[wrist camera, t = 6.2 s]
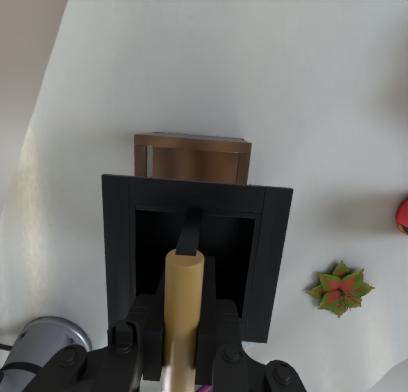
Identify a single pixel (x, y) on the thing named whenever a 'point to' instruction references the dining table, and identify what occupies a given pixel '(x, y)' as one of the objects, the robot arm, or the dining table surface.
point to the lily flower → (340, 290)
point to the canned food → (403, 217)
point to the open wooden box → (193, 157)
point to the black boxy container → (193, 256)
